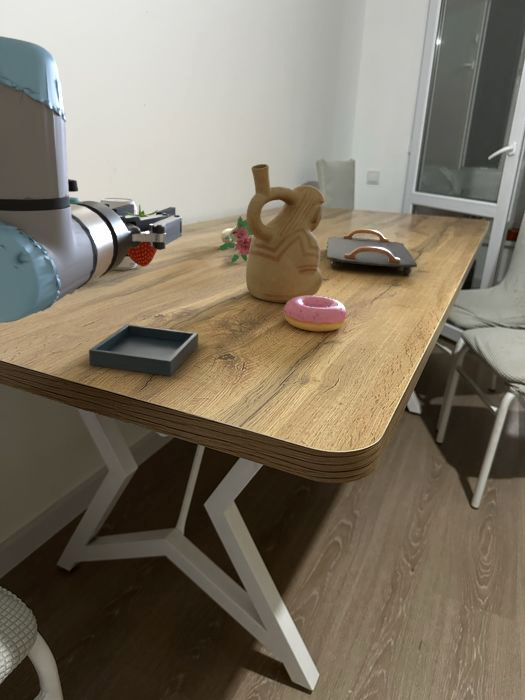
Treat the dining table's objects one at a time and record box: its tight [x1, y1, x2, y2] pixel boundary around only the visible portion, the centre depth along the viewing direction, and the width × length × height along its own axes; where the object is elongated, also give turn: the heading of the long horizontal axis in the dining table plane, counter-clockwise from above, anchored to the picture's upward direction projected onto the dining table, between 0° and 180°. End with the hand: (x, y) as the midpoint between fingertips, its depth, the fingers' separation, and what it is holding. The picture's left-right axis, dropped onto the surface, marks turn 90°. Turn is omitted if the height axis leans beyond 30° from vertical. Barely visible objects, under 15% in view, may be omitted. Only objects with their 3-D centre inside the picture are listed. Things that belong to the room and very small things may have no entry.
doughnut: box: [282, 295, 348, 332], centre depth 88 cm, size 11×11×4 cm
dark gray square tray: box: [88, 323, 199, 377], centre depth 72 cm, size 11×11×2 cm
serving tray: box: [325, 228, 418, 276], centre depth 144 cm, size 39×23×6 cm, turn 172°
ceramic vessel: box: [245, 163, 326, 304], centre depth 101 cm, size 17×20×25 cm
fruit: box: [125, 204, 159, 267], centre depth 68 cm, size 5×5×8 cm
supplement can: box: [99, 197, 139, 271], centre depth 117 cm, size 8×8×15 cm
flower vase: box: [217, 215, 254, 264], centre depth 136 cm, size 12×12×35 cm
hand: (152, 215), depth 72 cm, fingers closed on fruit, 5 cm apart
